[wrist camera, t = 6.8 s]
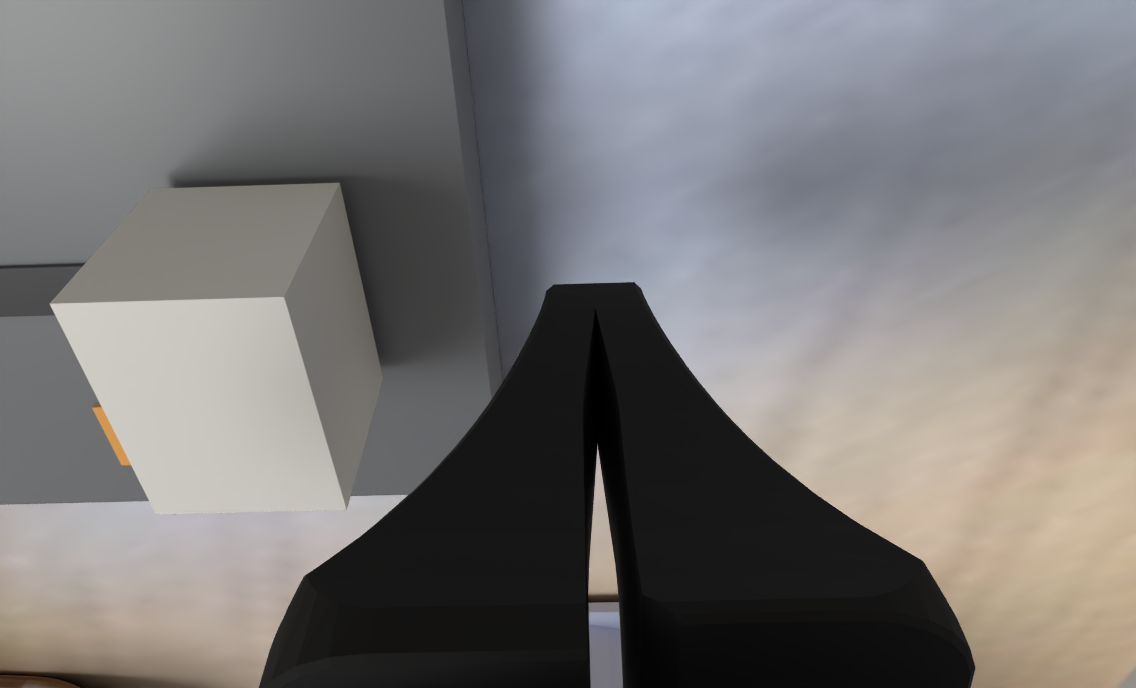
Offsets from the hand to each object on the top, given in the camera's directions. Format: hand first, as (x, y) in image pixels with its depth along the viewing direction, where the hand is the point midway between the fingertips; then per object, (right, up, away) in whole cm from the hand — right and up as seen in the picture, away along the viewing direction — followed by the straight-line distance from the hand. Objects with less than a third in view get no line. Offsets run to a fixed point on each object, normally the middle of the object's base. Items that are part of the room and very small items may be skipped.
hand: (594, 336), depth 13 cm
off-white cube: (-5, +1, +1) cm, 6 cm away
